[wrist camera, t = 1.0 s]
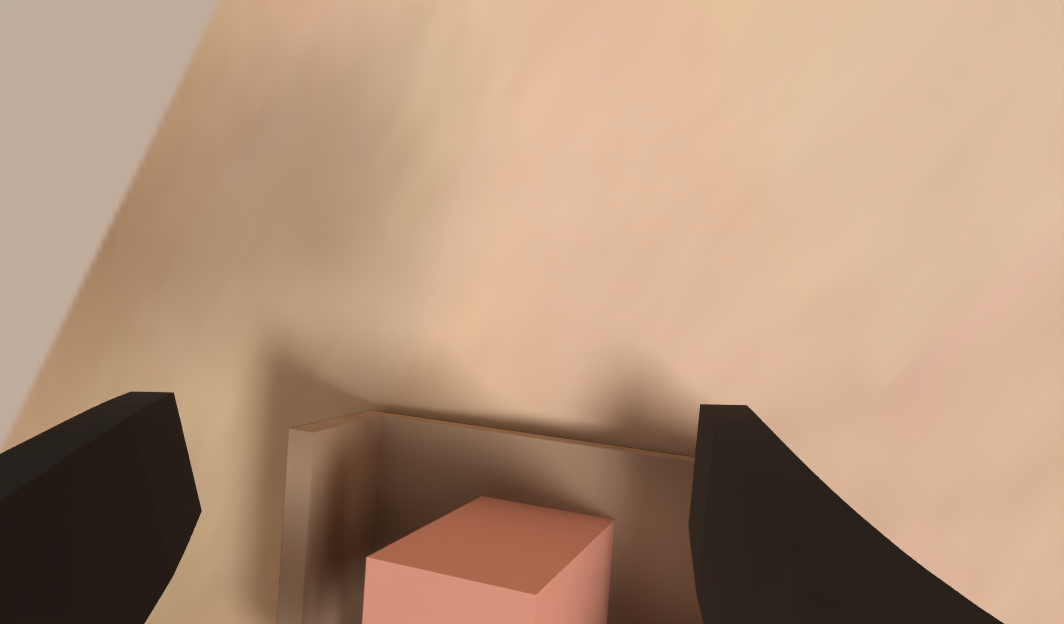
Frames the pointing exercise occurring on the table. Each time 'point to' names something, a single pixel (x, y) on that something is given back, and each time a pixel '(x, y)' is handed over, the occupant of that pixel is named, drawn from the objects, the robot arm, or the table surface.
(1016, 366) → the table surface
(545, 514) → the block
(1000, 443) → the table surface
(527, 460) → the box
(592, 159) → the table surface
